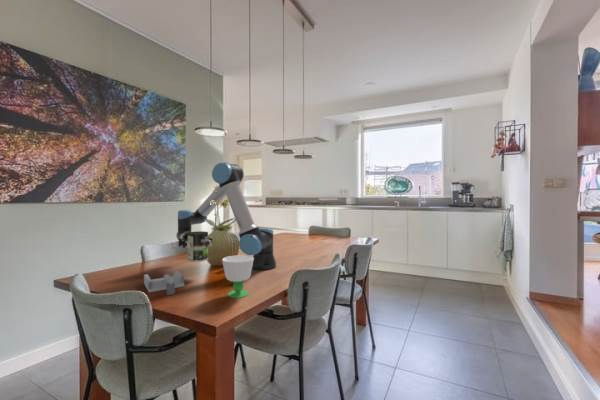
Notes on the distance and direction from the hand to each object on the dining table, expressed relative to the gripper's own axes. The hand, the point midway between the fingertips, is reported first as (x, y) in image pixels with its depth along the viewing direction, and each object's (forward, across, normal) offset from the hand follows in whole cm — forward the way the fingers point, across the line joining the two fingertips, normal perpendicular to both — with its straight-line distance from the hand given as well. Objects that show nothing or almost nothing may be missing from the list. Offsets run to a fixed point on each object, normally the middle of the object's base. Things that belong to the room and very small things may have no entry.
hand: (200, 244), depth 150 cm
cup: (+31, -8, -18) cm, 36 cm away
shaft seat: (+3, +17, -18) cm, 25 cm away
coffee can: (-4, 0, -9) cm, 10 cm away
